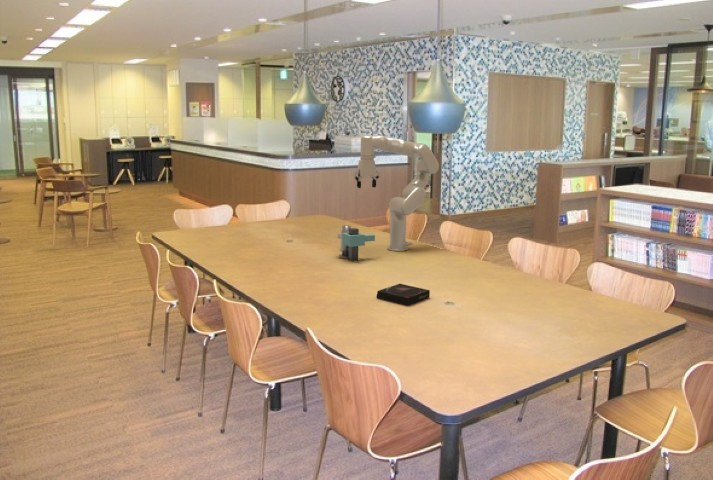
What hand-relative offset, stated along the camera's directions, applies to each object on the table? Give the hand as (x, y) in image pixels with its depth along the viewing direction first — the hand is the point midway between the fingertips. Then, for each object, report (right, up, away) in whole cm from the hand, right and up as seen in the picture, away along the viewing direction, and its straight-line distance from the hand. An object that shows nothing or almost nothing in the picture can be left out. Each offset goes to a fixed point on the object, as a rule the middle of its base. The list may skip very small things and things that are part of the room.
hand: (366, 187), depth 360 cm
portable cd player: (+15, -57, -83) cm, 101 cm away
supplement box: (-10, -36, +14) cm, 40 cm away
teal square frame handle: (-4, -32, -13) cm, 35 cm away
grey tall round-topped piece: (-12, -40, -5) cm, 42 cm away
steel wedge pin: (-8, -42, -13) cm, 44 cm away
